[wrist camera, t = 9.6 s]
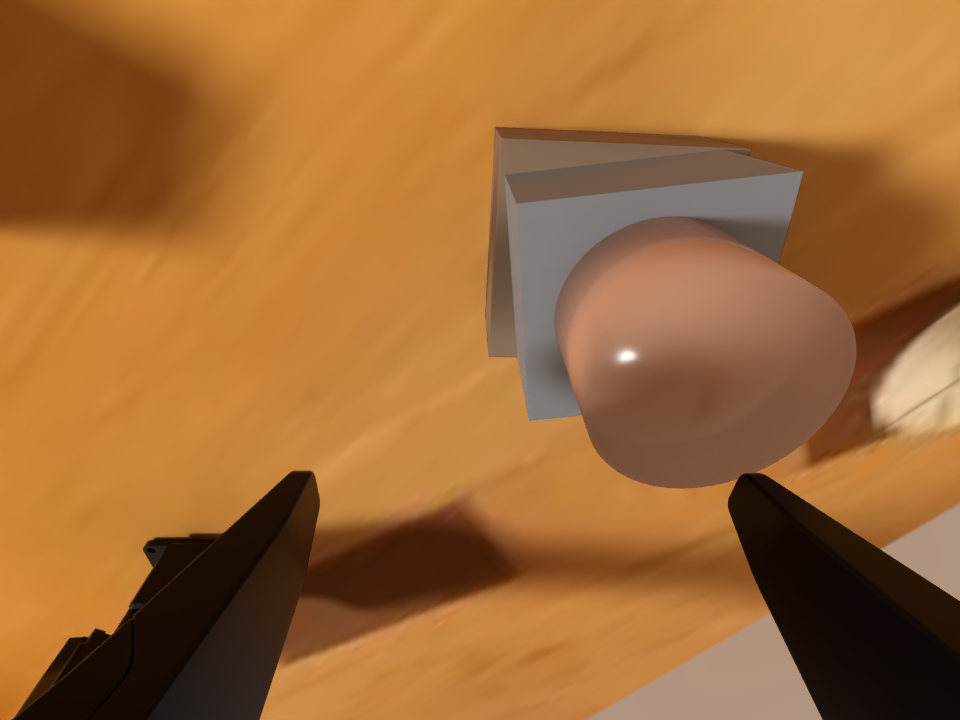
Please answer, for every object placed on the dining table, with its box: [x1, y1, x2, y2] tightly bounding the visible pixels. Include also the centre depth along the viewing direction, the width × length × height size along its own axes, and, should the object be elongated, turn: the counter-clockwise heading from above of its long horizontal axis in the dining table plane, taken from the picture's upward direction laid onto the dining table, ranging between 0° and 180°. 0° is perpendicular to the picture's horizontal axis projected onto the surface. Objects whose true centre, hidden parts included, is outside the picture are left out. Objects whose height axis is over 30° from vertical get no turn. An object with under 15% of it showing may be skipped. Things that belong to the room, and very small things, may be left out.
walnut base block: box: [485, 127, 751, 357], centre depth 18 cm, size 8×8×4 cm
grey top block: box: [505, 149, 803, 421], centre depth 14 cm, size 7×7×4 cm
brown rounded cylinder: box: [554, 216, 856, 488], centre depth 11 cm, size 6×6×4 cm
